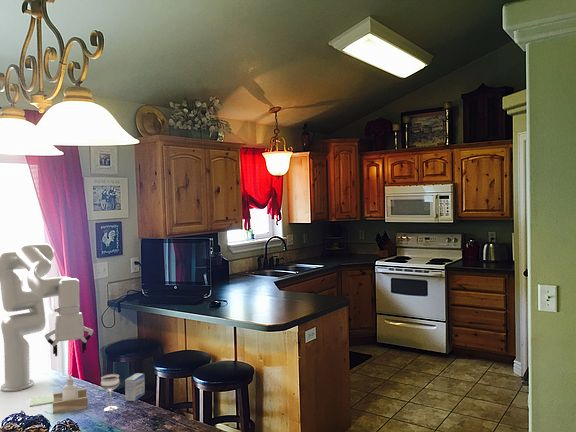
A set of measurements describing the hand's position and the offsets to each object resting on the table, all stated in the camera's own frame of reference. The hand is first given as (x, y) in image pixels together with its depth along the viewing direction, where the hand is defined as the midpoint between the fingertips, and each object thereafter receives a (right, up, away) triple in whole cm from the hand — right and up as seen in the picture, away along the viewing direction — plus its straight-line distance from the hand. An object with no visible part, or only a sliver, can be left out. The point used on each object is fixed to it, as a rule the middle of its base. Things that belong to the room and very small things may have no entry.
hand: (69, 353), depth 185 cm
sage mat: (-13, -21, +6) cm, 25 cm away
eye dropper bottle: (0, -21, 0) cm, 21 cm away
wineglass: (+17, -20, -3) cm, 27 cm away
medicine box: (+23, -20, +7) cm, 32 cm away
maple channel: (0, -20, 0) cm, 20 cm away
